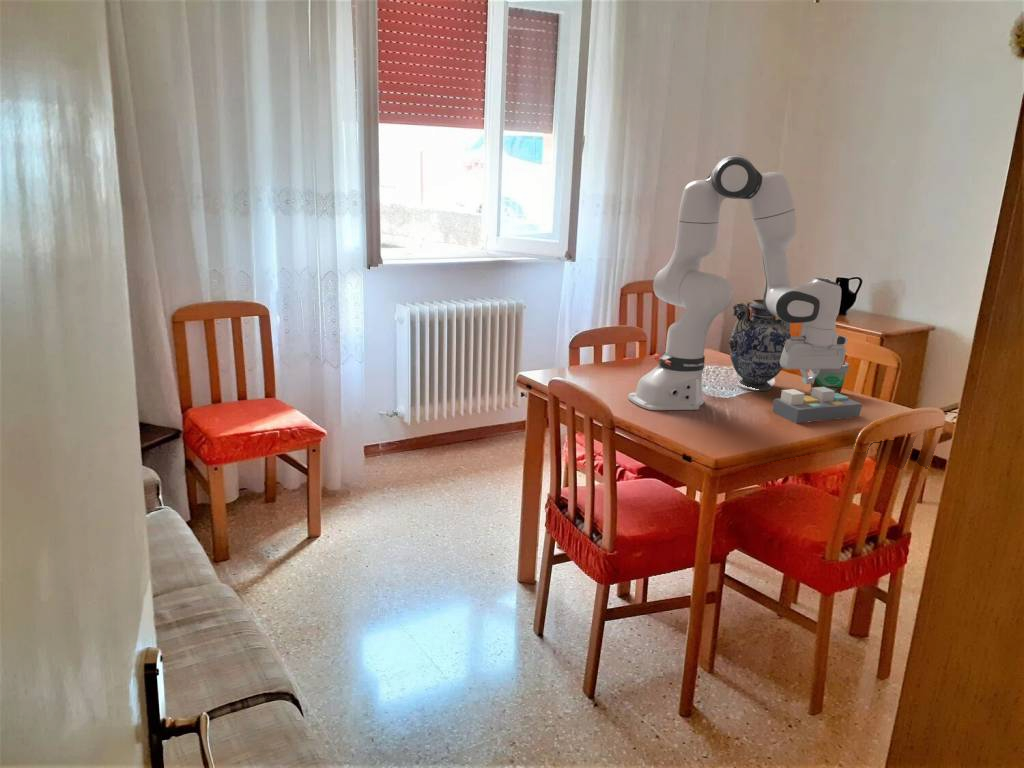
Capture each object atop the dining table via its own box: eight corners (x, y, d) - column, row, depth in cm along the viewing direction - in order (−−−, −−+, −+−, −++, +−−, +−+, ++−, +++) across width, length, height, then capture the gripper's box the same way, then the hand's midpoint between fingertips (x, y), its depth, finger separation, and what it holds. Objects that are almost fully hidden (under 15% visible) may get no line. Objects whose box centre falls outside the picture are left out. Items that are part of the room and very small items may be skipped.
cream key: (790, 406, 212) (792, 394, 211) (780, 401, 216) (781, 390, 215) (802, 405, 214) (804, 393, 213) (792, 400, 218) (794, 389, 217)
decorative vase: (734, 394, 232) (746, 305, 225) (711, 378, 250) (722, 295, 242) (798, 395, 235) (813, 307, 227) (771, 379, 253) (784, 297, 245)
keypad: (796, 423, 209) (798, 409, 208) (772, 411, 218) (774, 398, 217) (859, 416, 217) (862, 403, 216) (834, 406, 226) (836, 392, 225)
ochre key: (804, 412, 215) (806, 401, 214) (794, 407, 219) (796, 396, 218) (816, 411, 217) (818, 400, 216) (806, 406, 221) (808, 395, 220)
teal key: (834, 409, 219) (836, 398, 218) (823, 404, 223) (825, 393, 222) (846, 408, 221) (848, 397, 219) (835, 403, 224) (837, 392, 223)
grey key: (821, 403, 216) (823, 392, 215) (810, 398, 220) (812, 387, 219) (833, 402, 218) (835, 391, 217) (822, 397, 222) (824, 386, 221)
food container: (816, 397, 234) (822, 366, 231) (806, 391, 240) (811, 361, 237) (852, 397, 236) (858, 366, 233) (841, 391, 242) (847, 361, 239)
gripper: (794, 338, 205) (785, 387, 209) (852, 339, 212) (842, 385, 216) (779, 333, 211) (771, 380, 214) (836, 334, 218) (827, 379, 222)
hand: (807, 383), depth 215 cm, fingers closed
